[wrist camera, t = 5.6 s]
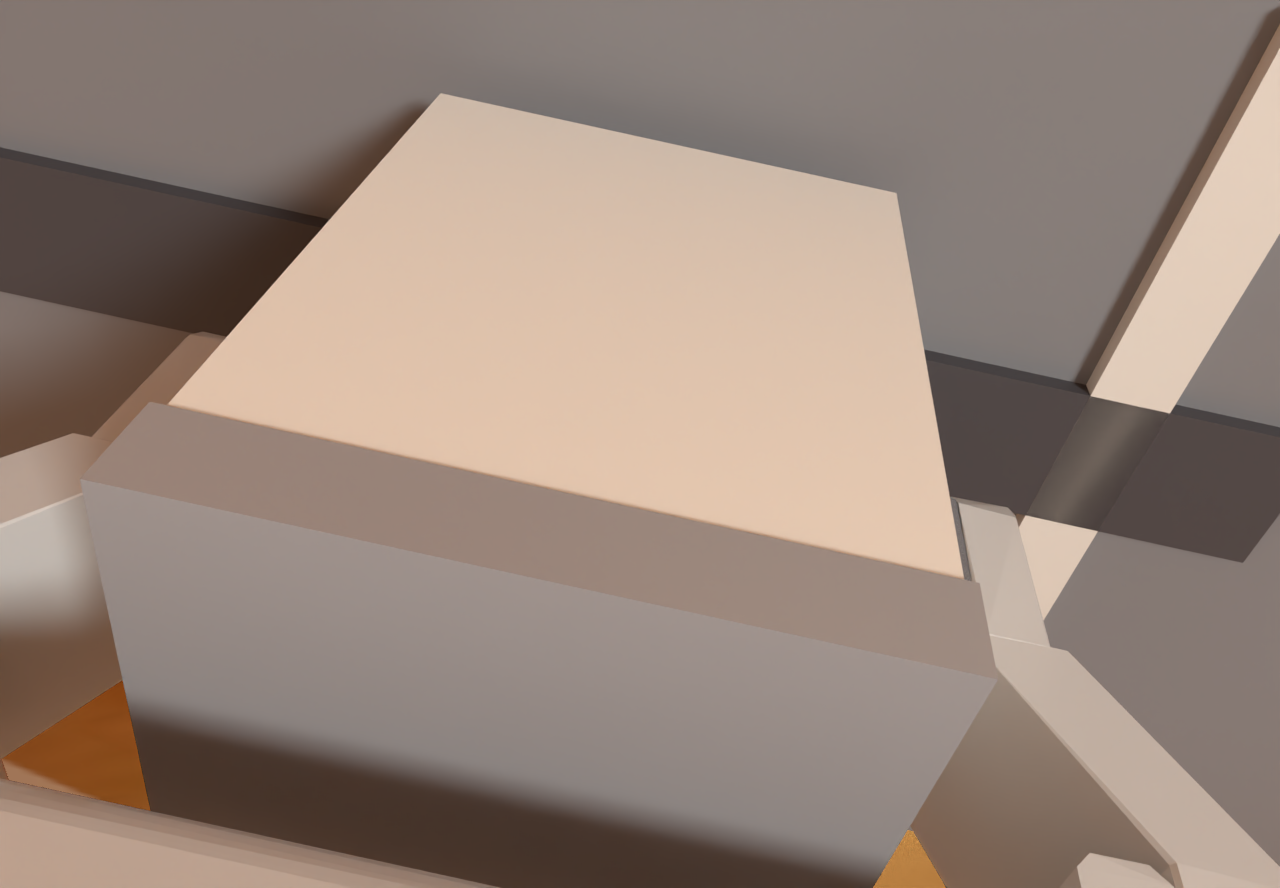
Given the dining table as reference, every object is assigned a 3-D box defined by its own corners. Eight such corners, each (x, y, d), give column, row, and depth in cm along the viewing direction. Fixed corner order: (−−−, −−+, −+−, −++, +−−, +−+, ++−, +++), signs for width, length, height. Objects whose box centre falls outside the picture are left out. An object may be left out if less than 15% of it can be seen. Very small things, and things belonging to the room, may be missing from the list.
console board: (2105, -226, 8) (2554, -192, 6) (1225, 766, 17) (1287, 927, 15) (-1224, -960, 8) (-1931, -1181, 6) (-431, 405, 17) (-613, 512, 15)
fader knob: (904, 188, 9) (997, 680, 4) (760, 597, 12) (733, 1117, 8) (435, 85, 9) (80, 478, 4) (414, 521, 12) (190, 1000, 8)
